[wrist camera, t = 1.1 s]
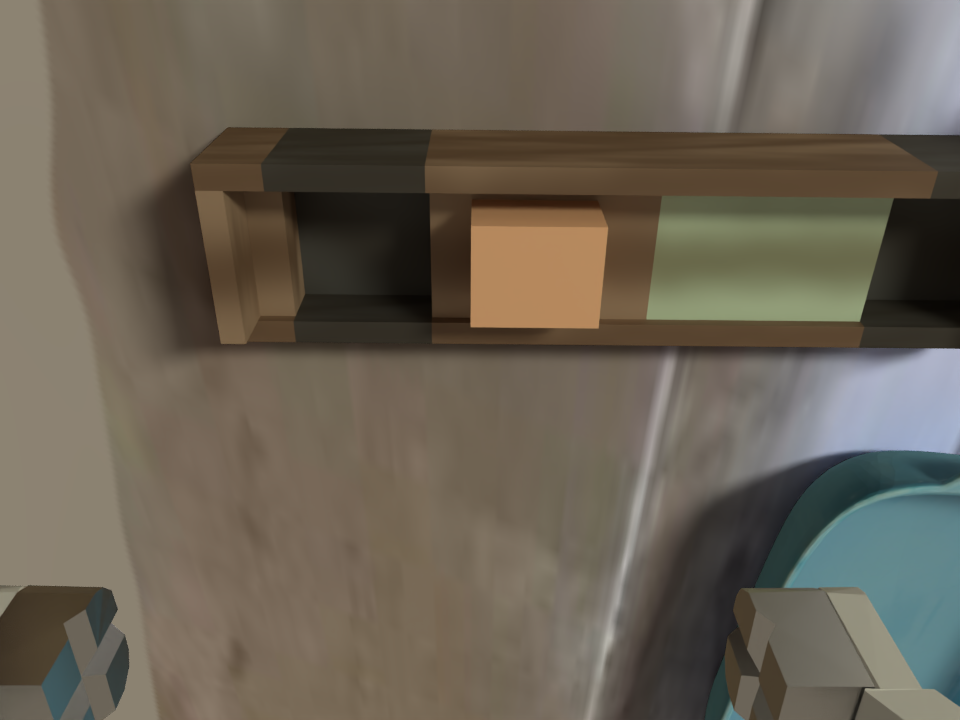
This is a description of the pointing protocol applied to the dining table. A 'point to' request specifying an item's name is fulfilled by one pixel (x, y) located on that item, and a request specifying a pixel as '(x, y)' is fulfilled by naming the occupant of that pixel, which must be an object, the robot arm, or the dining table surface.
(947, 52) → the dining table surface
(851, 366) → the dining table surface
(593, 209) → the terracotta block
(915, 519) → the casserole dish
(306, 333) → the box
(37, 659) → the robot arm
